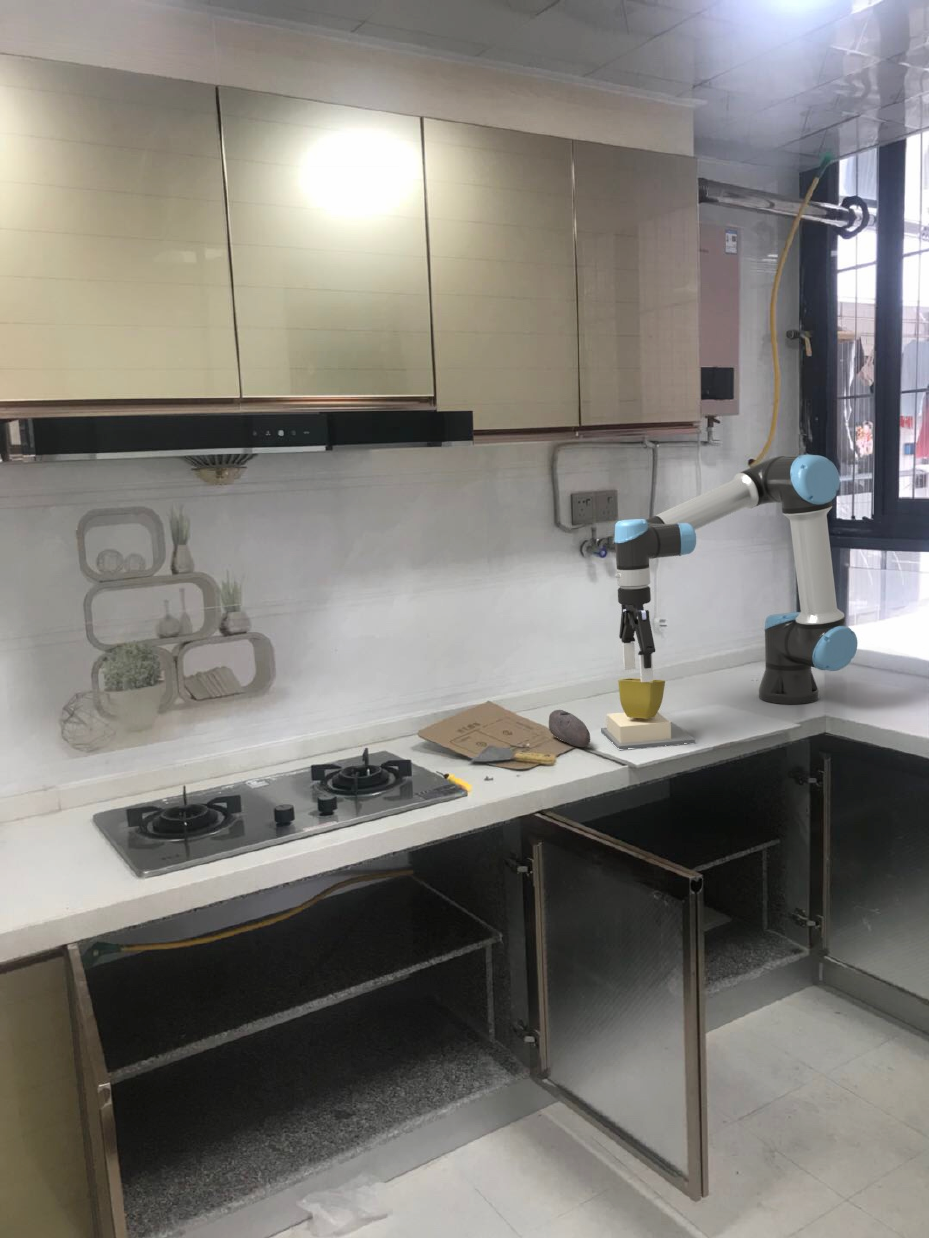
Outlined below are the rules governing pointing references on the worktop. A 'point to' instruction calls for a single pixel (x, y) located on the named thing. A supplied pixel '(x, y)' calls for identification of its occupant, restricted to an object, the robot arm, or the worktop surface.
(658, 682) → the flower pot
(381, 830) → the worktop surface
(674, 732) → the display base
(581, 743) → the perforated stone tool
